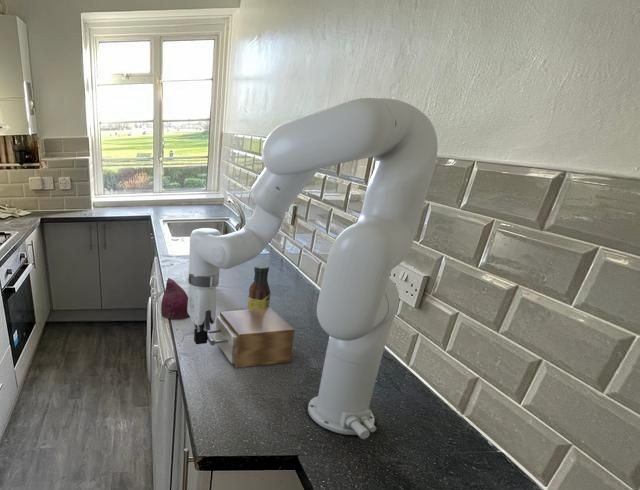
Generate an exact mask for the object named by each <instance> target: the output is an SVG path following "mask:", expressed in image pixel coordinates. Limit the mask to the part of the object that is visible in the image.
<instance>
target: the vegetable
mask: <svg viewBox="0 0 640 490" xmlns="http://www.w3.org/2000/svg"><path fill="white" fill-rule="evenodd" d="M165 285H166V286H165V289H164V292H163V294H162V298H161V304H160V311H161V316H162V317H163V318H165V319H168V320H184V319H187V318H188V317H190V316H189V314H188V312H187V305H188V294H187V292H186V291H185V290H184V288H183V287H182V286H180V285H179V284H178V283H177V282H176V281H175V280H174V279H172V278H170V277H168V278H167V281H166V284H165Z"/></svg>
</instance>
